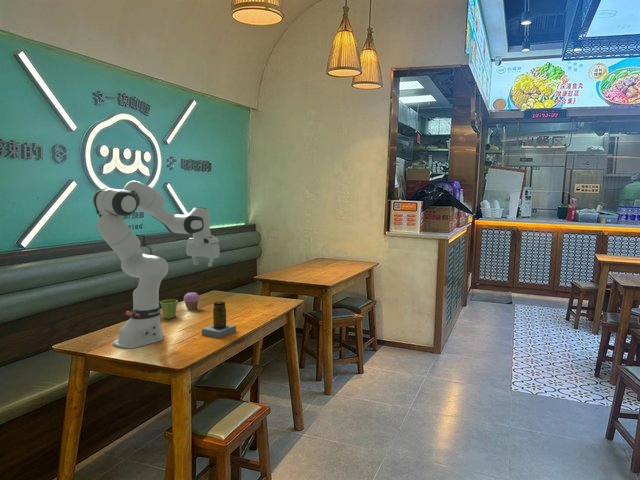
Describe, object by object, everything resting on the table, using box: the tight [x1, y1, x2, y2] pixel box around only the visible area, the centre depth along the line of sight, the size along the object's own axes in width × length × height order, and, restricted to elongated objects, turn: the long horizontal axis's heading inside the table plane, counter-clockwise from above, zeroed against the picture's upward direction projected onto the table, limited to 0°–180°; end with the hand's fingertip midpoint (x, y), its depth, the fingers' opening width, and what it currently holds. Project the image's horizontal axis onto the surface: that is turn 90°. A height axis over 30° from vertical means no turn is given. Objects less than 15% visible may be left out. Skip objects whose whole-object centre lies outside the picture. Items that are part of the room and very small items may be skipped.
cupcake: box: [183, 292, 201, 311], centre depth 266 cm, size 9×9×10 cm
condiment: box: [209, 300, 232, 330], centre depth 222 cm, size 7×8×12 cm
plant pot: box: [159, 299, 179, 319], centre depth 250 cm, size 9×9×9 cm
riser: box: [201, 323, 237, 339], centre depth 223 cm, size 12×11×3 cm
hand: (202, 265), depth 239 cm, fingers open, 8 cm apart
